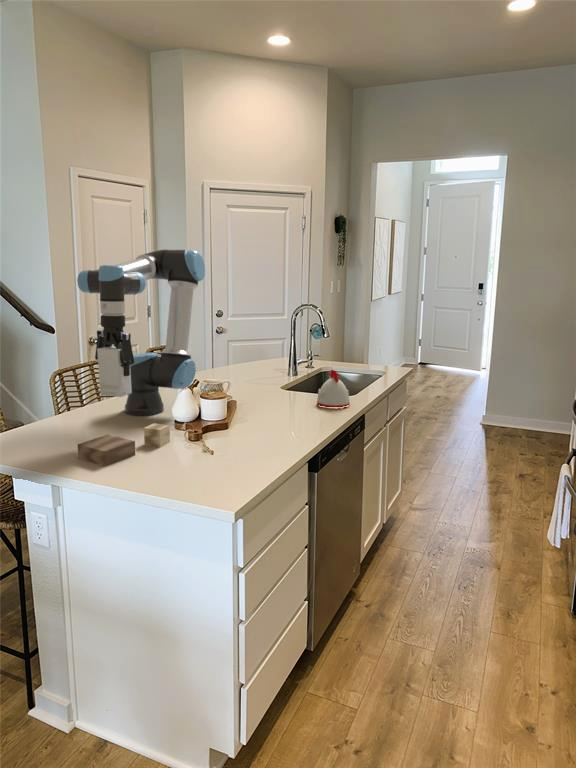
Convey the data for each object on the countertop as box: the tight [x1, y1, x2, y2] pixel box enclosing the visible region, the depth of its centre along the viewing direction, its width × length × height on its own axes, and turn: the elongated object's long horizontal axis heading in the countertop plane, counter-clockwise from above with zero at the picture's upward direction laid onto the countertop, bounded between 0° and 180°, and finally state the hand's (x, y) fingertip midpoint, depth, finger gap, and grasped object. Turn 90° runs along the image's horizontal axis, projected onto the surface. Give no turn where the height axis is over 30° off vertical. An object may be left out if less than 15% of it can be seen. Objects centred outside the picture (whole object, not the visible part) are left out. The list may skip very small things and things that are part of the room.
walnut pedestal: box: [77, 434, 136, 467], centre depth 181 cm, size 12×12×5 cm
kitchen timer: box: [316, 369, 350, 407], centre depth 249 cm, size 14×14×15 cm
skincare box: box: [97, 345, 132, 398], centre depth 190 cm, size 8×7×16 cm
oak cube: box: [143, 422, 171, 448], centre depth 195 cm, size 6×6×6 cm
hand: (115, 383), depth 191 cm, fingers closed on skincare box, 9 cm apart
